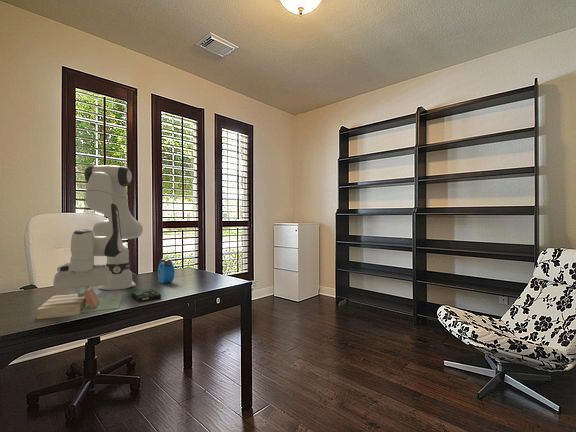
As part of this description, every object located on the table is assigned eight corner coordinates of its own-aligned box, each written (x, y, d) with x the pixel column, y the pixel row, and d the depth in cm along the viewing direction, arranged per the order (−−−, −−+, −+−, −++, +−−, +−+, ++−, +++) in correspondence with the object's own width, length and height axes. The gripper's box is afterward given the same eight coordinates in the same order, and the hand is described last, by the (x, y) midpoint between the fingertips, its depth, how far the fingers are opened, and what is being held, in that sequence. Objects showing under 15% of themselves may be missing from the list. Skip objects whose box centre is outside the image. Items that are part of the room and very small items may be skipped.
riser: (52, 304, 137) (52, 295, 137) (88, 301, 143) (88, 292, 143) (36, 319, 117) (36, 309, 117) (79, 314, 123) (79, 305, 123)
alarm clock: (174, 284, 182) (175, 259, 182) (164, 285, 178) (164, 260, 178) (167, 280, 192) (167, 257, 192) (157, 281, 188) (157, 258, 188)
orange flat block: (87, 290, 138) (92, 287, 139) (94, 303, 139) (99, 300, 140) (83, 295, 129) (88, 292, 130) (90, 309, 130) (95, 306, 131)
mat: (89, 299, 146) (89, 298, 146) (122, 296, 152) (122, 295, 152) (80, 312, 126) (80, 311, 126) (118, 308, 132) (118, 307, 132)
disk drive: (161, 300, 149) (151, 293, 160) (161, 294, 149) (151, 288, 160) (139, 303, 142) (130, 296, 154) (139, 297, 142) (130, 291, 154)
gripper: (110, 263, 140) (109, 292, 140) (56, 266, 132) (56, 297, 132) (108, 265, 135) (107, 296, 134) (52, 268, 126) (51, 300, 126)
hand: (81, 296), depth 133 cm, fingers closed
